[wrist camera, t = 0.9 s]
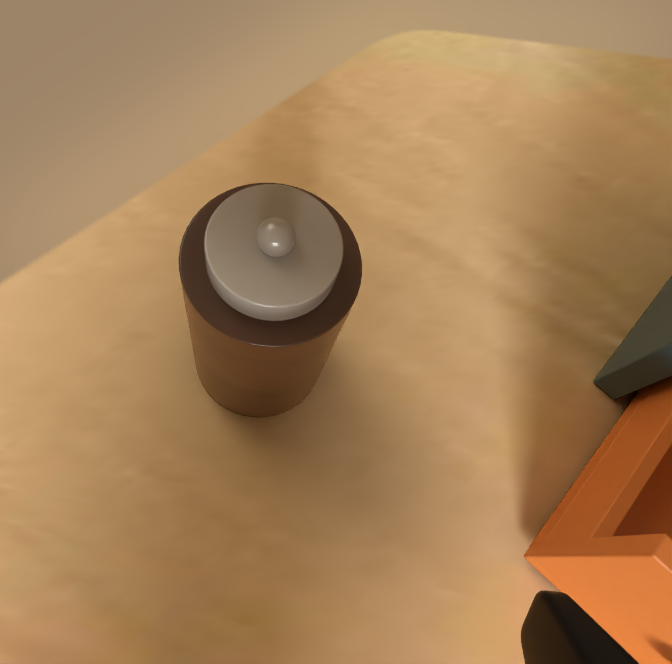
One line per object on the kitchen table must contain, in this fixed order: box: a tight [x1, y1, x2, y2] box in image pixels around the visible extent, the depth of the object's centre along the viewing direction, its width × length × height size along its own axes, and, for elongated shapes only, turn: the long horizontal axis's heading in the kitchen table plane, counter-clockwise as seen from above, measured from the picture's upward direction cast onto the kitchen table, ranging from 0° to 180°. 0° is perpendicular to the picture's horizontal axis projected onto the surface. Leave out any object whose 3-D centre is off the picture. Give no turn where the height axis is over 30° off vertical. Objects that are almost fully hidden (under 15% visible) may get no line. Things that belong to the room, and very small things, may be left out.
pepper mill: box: [179, 183, 362, 417], centre depth 20 cm, size 5×5×10 cm
